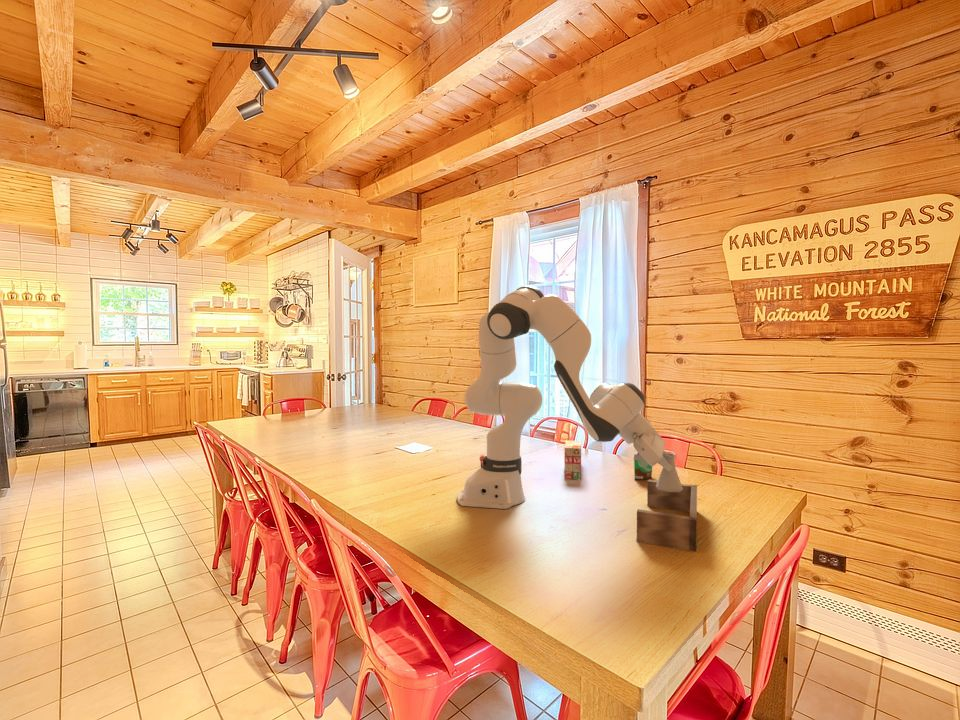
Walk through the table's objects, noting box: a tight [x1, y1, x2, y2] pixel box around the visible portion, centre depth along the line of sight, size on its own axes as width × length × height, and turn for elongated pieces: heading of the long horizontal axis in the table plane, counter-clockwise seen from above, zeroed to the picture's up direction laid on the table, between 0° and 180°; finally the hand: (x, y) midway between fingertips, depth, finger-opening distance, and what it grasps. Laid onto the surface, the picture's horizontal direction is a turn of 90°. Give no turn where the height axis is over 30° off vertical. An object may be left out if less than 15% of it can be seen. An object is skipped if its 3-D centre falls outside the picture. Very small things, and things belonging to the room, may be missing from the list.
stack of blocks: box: [563, 440, 582, 480], centre depth 181 cm, size 21×6×12 cm, turn 168°
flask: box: [656, 452, 683, 492], centre depth 129 cm, size 7×7×10 cm
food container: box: [633, 452, 653, 482], centre depth 172 cm, size 12×6×10 cm, turn 148°
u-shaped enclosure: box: [636, 479, 698, 552], centre depth 128 cm, size 14×29×8 cm, turn 154°
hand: (671, 467), depth 128 cm, fingers closed on flask, 3 cm apart
